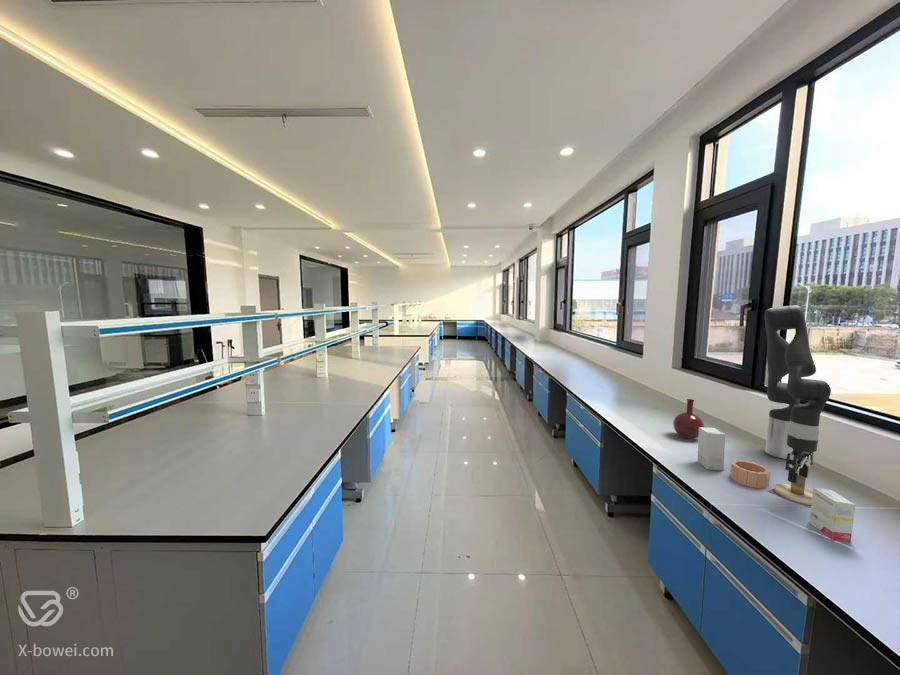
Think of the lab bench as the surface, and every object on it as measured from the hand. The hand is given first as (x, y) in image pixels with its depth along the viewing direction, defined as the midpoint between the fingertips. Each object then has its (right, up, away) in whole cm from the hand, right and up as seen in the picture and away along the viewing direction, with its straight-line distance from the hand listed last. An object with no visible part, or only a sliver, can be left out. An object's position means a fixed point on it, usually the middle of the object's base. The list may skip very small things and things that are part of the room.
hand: (797, 479), depth 123 cm
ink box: (-9, -9, -18) cm, 22 cm away
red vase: (-2, -1, +54) cm, 54 cm away
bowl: (-8, -5, +11) cm, 15 cm away
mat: (0, -7, +1) cm, 7 cm away
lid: (0, -6, +1) cm, 6 cm away
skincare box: (-14, -4, +24) cm, 28 cm away
